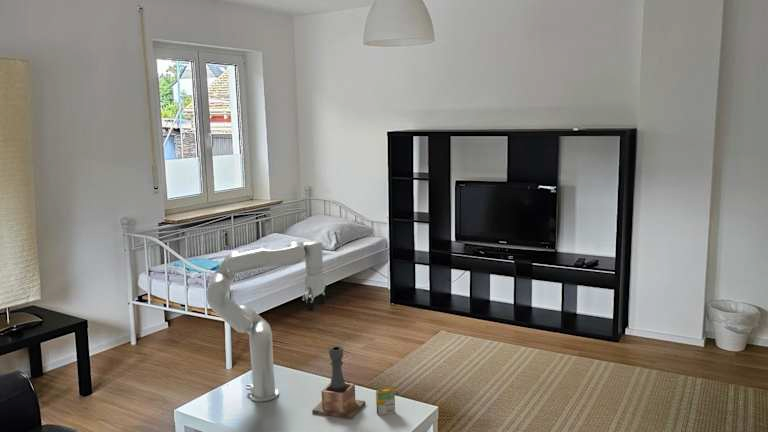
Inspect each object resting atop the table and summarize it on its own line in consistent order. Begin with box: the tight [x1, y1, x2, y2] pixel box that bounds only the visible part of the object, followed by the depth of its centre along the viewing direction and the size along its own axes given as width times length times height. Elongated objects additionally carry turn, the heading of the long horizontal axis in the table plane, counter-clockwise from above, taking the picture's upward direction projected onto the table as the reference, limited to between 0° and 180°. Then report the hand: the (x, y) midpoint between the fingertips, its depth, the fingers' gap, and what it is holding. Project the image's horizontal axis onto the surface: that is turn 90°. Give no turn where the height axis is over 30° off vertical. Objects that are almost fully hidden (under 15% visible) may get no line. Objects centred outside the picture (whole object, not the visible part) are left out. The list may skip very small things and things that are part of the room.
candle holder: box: [328, 345, 346, 393], centre depth 263 cm, size 6×6×25 cm
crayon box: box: [375, 386, 396, 416], centre depth 259 cm, size 7×3×12 cm, turn 106°
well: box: [311, 382, 366, 420], centre depth 264 cm, size 18×14×10 cm
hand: (316, 307), depth 278 cm, fingers open, 9 cm apart
